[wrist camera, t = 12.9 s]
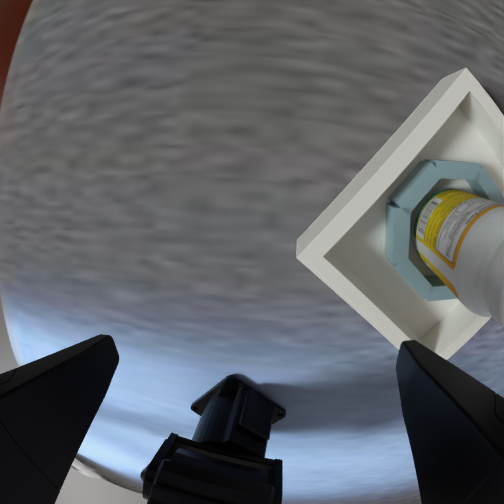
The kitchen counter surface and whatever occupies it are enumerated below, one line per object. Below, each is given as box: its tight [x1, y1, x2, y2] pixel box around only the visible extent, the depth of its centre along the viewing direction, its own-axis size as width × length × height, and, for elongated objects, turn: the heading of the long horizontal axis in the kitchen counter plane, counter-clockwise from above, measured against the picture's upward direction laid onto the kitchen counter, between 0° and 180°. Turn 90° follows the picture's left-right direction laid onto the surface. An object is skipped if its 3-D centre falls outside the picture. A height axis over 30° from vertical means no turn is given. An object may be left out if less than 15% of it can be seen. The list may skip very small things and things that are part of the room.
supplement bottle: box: [412, 188, 504, 328], centre depth 12 cm, size 5×5×10 cm
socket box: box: [296, 68, 504, 360], centre depth 16 cm, size 15×13×4 cm
